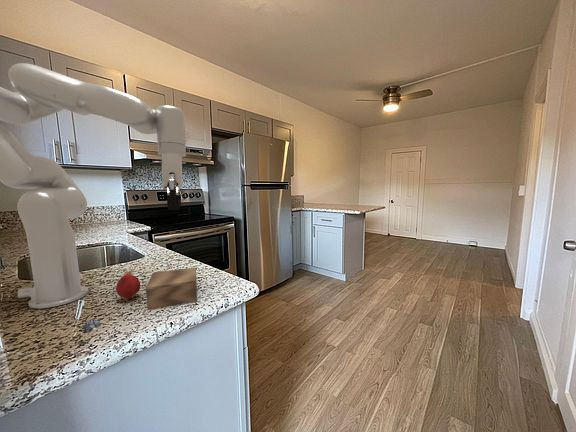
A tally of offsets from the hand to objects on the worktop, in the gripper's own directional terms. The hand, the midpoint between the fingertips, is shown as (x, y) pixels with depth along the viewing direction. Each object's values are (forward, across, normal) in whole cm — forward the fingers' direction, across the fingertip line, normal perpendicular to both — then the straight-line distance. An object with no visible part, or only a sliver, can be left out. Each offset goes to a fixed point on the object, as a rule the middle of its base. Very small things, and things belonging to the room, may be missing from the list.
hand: (174, 208), depth 75 cm
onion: (+26, +4, -13) cm, 29 cm away
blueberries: (+26, +16, -18) cm, 36 cm away
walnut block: (+25, +7, -1) cm, 26 cm away
